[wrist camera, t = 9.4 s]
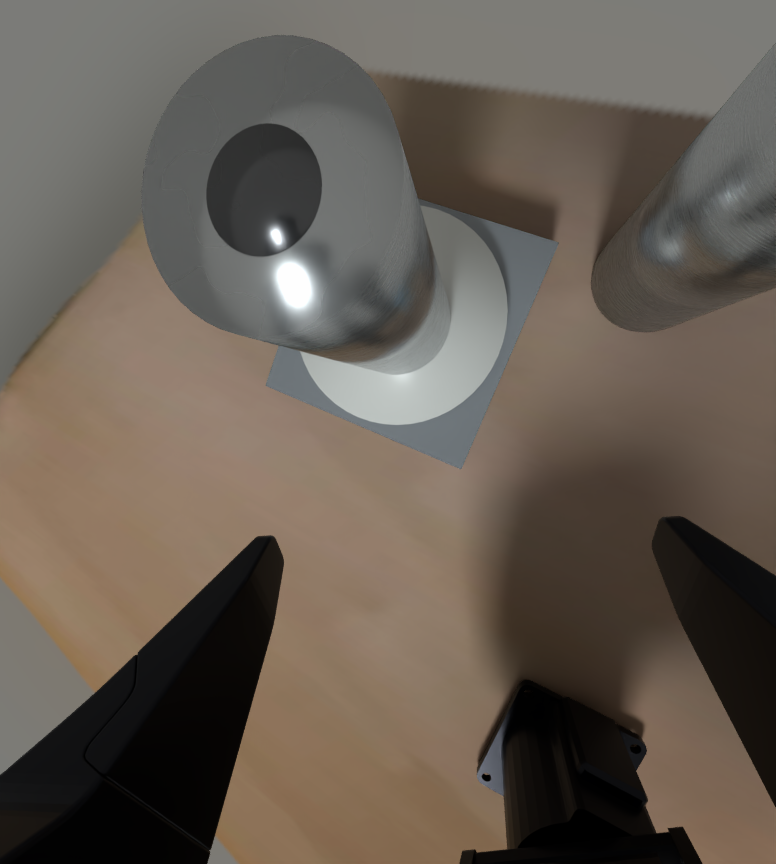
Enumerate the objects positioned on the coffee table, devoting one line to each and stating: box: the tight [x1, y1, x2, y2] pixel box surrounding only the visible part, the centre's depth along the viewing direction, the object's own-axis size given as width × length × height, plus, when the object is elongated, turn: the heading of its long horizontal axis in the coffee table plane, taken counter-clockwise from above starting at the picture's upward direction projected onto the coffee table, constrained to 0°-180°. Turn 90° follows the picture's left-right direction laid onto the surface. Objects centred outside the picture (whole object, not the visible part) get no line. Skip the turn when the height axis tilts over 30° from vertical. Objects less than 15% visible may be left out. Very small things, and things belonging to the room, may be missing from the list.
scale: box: [266, 199, 559, 469], centre depth 19 cm, size 11×14×5 cm
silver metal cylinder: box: [142, 35, 451, 375], centre depth 13 cm, size 5×5×12 cm
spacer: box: [591, 43, 776, 332], centre depth 13 cm, size 5×5×12 cm
